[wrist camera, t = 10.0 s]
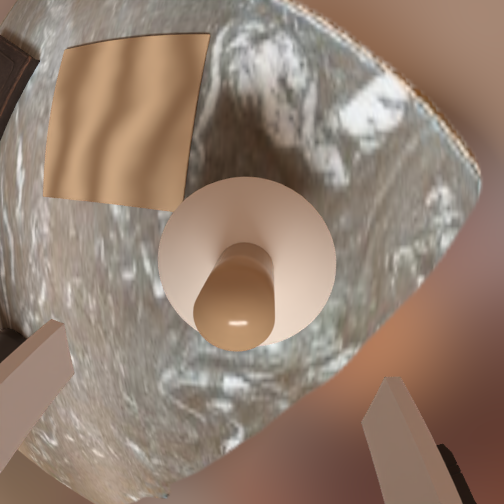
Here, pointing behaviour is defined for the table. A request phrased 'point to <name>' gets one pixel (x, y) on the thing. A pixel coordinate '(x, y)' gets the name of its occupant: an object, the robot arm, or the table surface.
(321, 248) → the lid
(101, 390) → the table surface
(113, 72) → the mat
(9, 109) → the hardcover book
